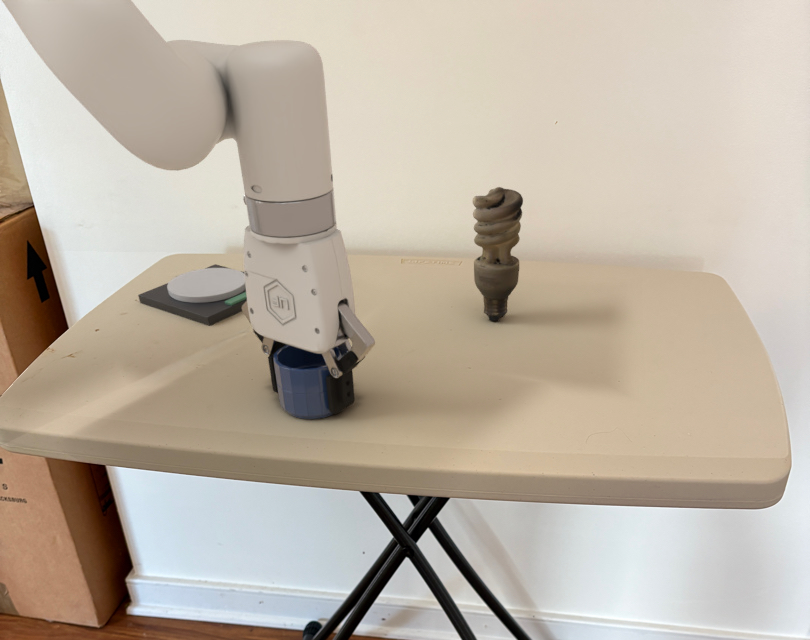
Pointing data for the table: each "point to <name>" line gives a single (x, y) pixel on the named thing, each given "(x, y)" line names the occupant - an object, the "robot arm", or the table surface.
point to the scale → (201, 294)
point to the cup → (302, 382)
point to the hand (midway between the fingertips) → (313, 396)
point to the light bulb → (497, 248)
